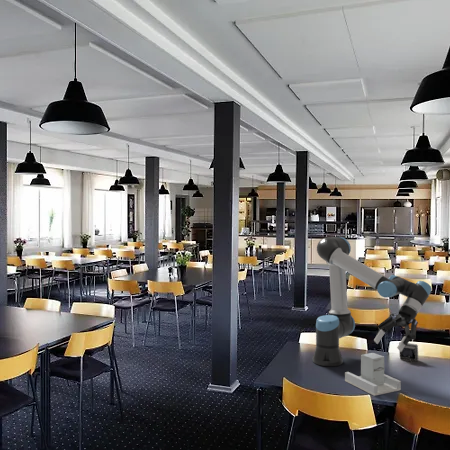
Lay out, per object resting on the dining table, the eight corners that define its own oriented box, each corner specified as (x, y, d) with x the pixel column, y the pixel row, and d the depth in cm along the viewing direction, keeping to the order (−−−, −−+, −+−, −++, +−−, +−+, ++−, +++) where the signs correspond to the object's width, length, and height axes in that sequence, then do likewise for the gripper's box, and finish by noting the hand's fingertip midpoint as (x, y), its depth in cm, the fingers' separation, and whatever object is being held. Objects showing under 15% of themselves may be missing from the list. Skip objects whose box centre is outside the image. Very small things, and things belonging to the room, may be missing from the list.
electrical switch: (418, 360, 241) (418, 343, 240) (416, 364, 237) (416, 346, 236) (400, 357, 246) (399, 340, 245) (397, 361, 242) (397, 344, 241)
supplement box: (372, 387, 201) (372, 358, 200) (360, 382, 207) (360, 354, 207) (384, 384, 204) (384, 356, 204) (372, 379, 211) (372, 352, 210)
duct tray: (345, 381, 211) (345, 372, 211) (370, 376, 217) (370, 367, 217) (374, 395, 194) (374, 386, 194) (400, 390, 200) (400, 381, 200)
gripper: (436, 320, 206) (413, 358, 200) (392, 309, 228) (370, 343, 222) (429, 309, 204) (405, 347, 197) (385, 300, 226) (362, 334, 219)
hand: (387, 345), depth 209 cm, fingers open, 13 cm apart
